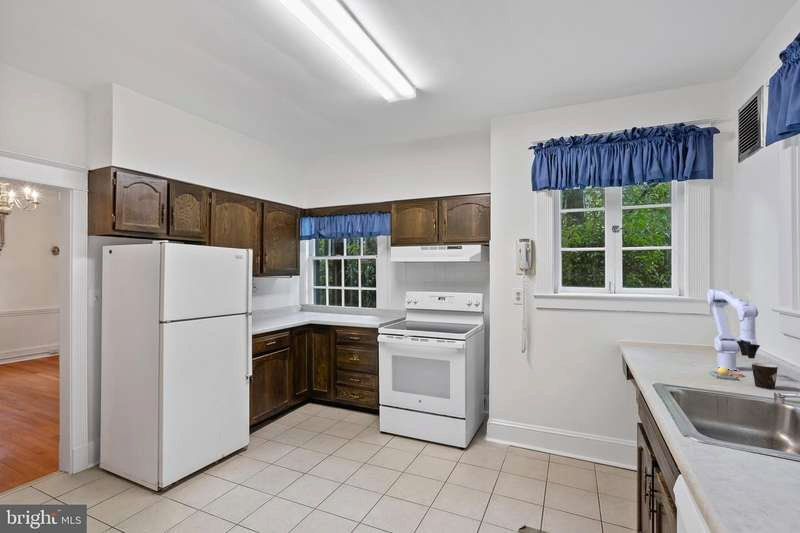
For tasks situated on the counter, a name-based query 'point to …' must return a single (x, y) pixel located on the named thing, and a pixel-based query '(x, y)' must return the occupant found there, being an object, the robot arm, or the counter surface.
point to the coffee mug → (764, 375)
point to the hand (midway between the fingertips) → (747, 356)
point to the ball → (723, 371)
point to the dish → (736, 373)
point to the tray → (728, 377)
